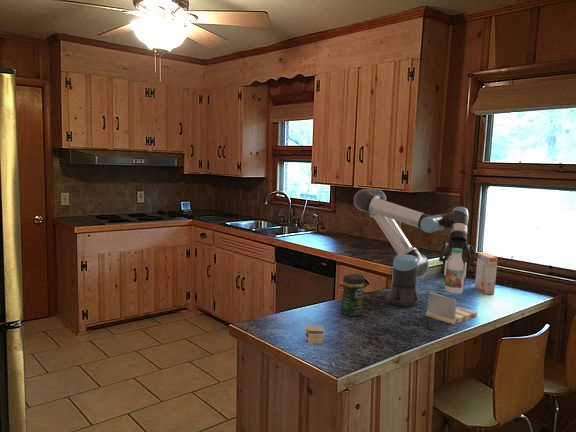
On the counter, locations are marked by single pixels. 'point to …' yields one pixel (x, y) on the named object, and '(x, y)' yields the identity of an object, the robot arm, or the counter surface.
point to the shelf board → (460, 315)
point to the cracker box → (486, 273)
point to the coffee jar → (352, 295)
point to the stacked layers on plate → (314, 334)
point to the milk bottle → (455, 272)
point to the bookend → (442, 305)
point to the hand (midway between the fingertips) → (454, 274)
